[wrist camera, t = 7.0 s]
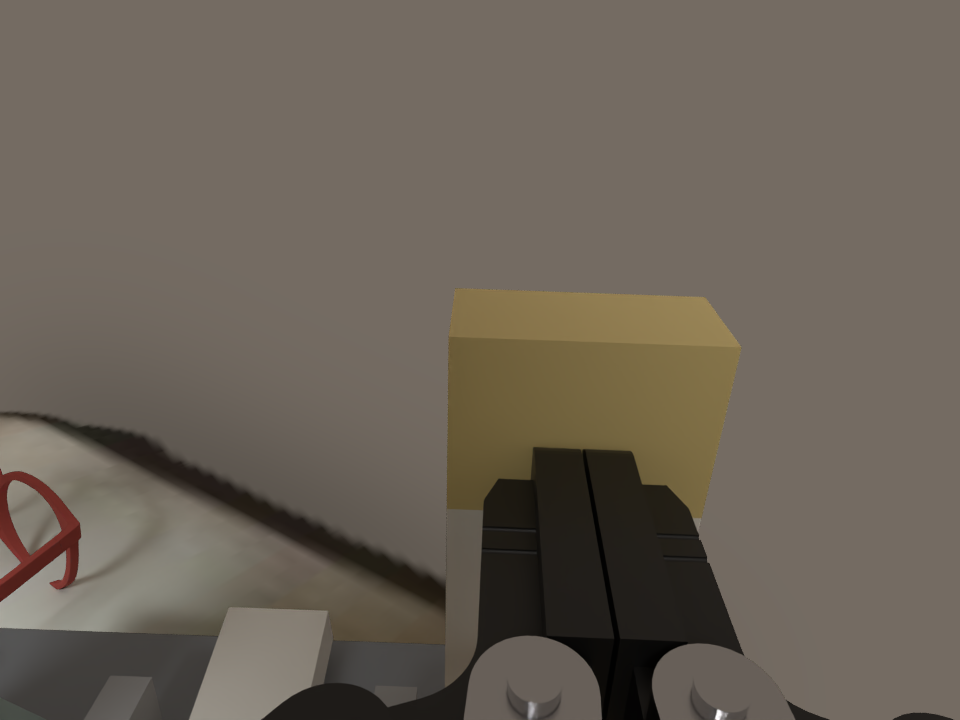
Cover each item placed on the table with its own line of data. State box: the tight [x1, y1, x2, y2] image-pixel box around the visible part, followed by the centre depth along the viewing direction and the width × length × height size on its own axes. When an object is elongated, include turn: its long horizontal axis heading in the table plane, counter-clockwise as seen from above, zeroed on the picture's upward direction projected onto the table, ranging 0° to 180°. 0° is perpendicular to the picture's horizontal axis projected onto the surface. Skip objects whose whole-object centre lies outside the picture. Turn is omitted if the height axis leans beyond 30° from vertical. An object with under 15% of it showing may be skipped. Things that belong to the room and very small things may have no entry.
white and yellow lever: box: [445, 288, 741, 687], centre depth 13 cm, size 5×2×13 cm, turn 89°
